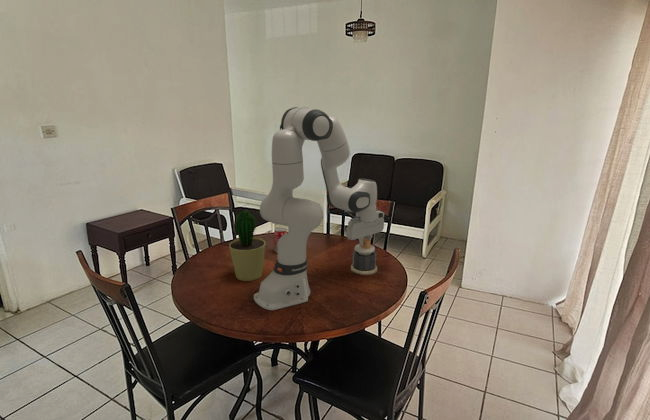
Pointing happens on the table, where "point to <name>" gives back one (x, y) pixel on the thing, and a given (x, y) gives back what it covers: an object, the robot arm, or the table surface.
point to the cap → (365, 248)
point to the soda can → (278, 236)
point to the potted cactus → (247, 249)
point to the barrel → (364, 264)
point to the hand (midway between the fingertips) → (365, 244)
